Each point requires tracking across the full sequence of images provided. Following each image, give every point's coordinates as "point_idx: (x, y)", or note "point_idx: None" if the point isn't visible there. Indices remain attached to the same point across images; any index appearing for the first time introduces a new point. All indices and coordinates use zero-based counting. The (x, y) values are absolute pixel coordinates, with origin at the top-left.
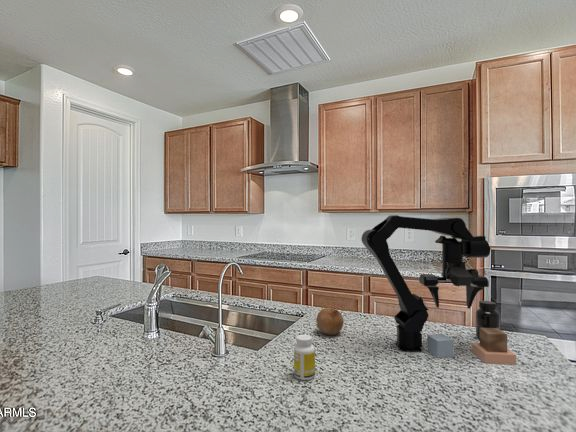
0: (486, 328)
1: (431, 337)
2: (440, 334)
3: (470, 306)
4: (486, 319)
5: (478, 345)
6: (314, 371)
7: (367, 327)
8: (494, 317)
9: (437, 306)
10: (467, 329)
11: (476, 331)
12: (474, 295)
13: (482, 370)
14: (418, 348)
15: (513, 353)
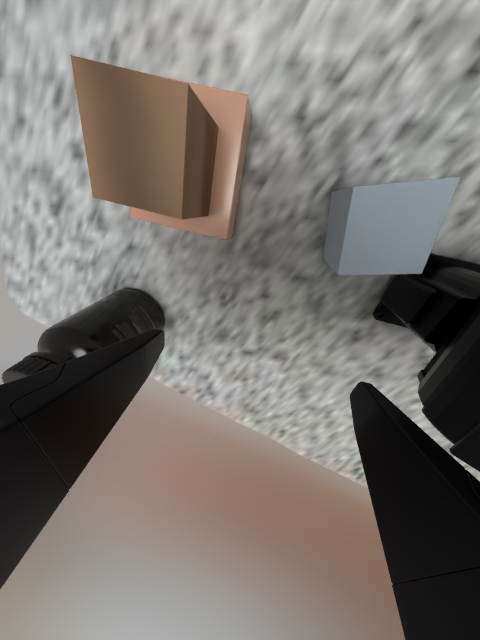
0: (151, 198)
1: (436, 236)
2: (355, 267)
3: (145, 332)
4: (103, 330)
5: (218, 207)
6: None
7: None
8: (68, 324)
9: (376, 389)
10: (162, 367)
11: None
12: (21, 385)
13: (317, 13)
14: None
15: None
